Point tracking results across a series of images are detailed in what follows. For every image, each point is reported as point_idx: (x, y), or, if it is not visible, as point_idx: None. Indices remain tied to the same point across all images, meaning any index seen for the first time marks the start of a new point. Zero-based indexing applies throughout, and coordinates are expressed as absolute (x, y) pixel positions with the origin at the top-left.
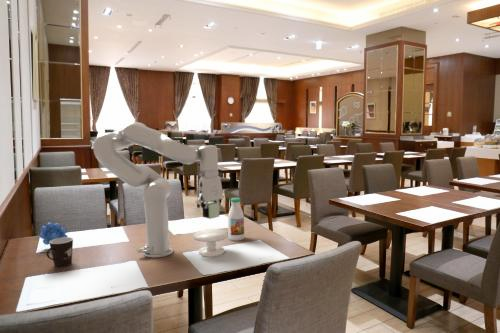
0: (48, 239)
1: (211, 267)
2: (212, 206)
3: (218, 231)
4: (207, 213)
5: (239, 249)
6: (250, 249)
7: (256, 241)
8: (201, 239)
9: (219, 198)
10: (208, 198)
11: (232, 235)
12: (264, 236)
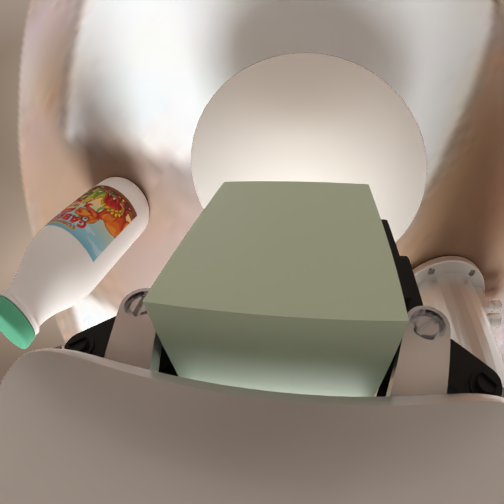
0: None
1: (436, 11)
2: (334, 283)
3: (236, 180)
4: (394, 250)
5: (184, 81)
6: (148, 52)
7: (82, 125)
8: (422, 148)
9: (77, 367)
10: (489, 471)
11: (134, 206)
12: (45, 156)
